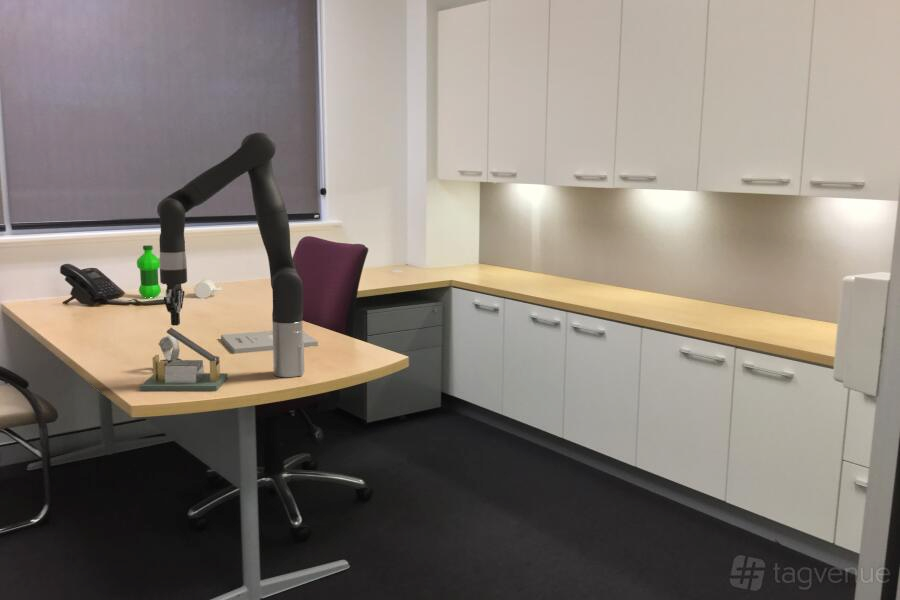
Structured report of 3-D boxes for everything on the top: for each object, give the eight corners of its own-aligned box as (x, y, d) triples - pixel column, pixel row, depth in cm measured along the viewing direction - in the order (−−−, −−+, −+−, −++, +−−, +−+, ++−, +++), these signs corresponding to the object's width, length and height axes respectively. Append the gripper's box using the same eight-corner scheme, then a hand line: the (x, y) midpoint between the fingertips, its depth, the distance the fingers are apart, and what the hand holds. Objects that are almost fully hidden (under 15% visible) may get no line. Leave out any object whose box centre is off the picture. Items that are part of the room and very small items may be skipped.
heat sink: (204, 375, 247) (203, 359, 246) (196, 383, 238) (195, 367, 237) (174, 375, 246) (173, 359, 245) (165, 383, 237) (164, 367, 236)
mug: (194, 298, 387) (193, 282, 386) (199, 295, 397) (198, 279, 395) (219, 298, 388) (219, 282, 387) (223, 295, 398) (223, 279, 396)
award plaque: (221, 340, 302) (220, 334, 302) (299, 333, 315) (299, 328, 315) (234, 354, 281) (234, 348, 280) (318, 347, 294) (317, 341, 293)
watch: (174, 365, 263) (172, 332, 261) (185, 370, 258) (184, 336, 256) (157, 368, 259) (155, 335, 258) (168, 373, 254) (167, 339, 252)
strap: (216, 362, 243) (219, 358, 243) (213, 365, 240) (216, 360, 239) (169, 330, 241) (172, 326, 241) (165, 333, 237) (168, 329, 237)
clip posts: (220, 377, 245) (220, 354, 244) (216, 381, 240) (215, 358, 238) (158, 376, 244) (157, 354, 243) (152, 381, 239) (151, 358, 238)
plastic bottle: (157, 295, 394) (155, 244, 390) (164, 298, 386) (161, 246, 381) (136, 296, 389) (133, 245, 384) (142, 300, 380) (139, 247, 376)
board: (227, 378, 250) (227, 373, 249) (216, 390, 236) (216, 386, 235) (155, 377, 249) (155, 373, 248) (140, 390, 235) (139, 385, 235)
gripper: (179, 270, 230) (182, 329, 233) (192, 264, 243) (194, 320, 246) (152, 269, 229) (155, 329, 232) (167, 263, 242) (169, 320, 245)
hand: (175, 324), depth 239 cm, fingers closed
